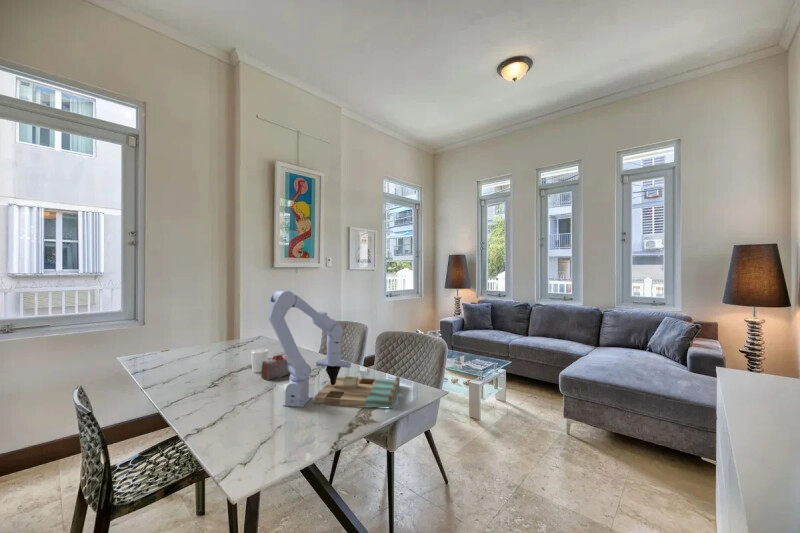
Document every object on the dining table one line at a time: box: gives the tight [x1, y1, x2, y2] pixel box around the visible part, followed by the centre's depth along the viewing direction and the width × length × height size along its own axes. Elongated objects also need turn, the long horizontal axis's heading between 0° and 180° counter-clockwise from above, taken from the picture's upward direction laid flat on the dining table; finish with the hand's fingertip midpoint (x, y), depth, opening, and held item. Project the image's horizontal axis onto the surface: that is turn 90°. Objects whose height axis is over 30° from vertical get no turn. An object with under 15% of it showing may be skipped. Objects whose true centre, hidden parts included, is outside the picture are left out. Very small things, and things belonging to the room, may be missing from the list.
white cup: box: [250, 348, 269, 374], centre depth 163 cm, size 8×8×10 cm
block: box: [343, 375, 359, 390], centre depth 135 cm, size 5×5×4 cm
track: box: [313, 375, 401, 409], centre depth 135 cm, size 24×30×4 cm
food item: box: [260, 355, 291, 381], centre depth 156 cm, size 14×8×10 cm, turn 141°
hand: (333, 384), depth 136 cm, fingers closed
